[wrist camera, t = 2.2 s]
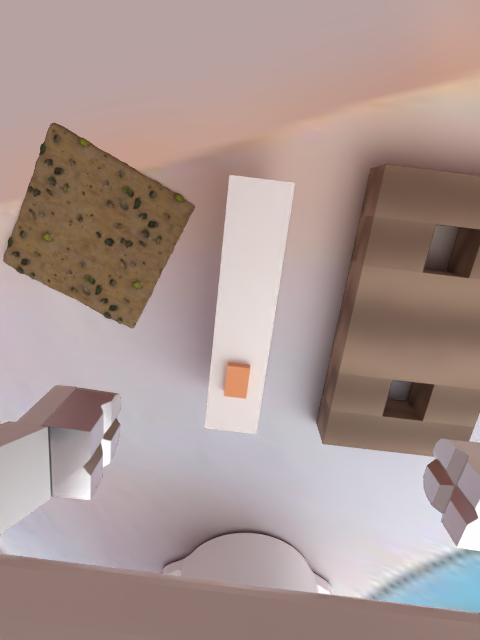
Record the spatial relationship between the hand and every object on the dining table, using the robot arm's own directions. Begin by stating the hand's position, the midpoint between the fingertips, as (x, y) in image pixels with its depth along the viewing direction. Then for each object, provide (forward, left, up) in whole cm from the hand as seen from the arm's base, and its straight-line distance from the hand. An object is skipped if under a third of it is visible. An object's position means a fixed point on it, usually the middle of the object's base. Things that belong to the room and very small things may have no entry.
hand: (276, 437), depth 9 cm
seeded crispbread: (+2, +13, -21) cm, 25 cm away
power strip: (-2, +1, -21) cm, 21 cm away
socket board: (-2, -13, -20) cm, 24 cm away
